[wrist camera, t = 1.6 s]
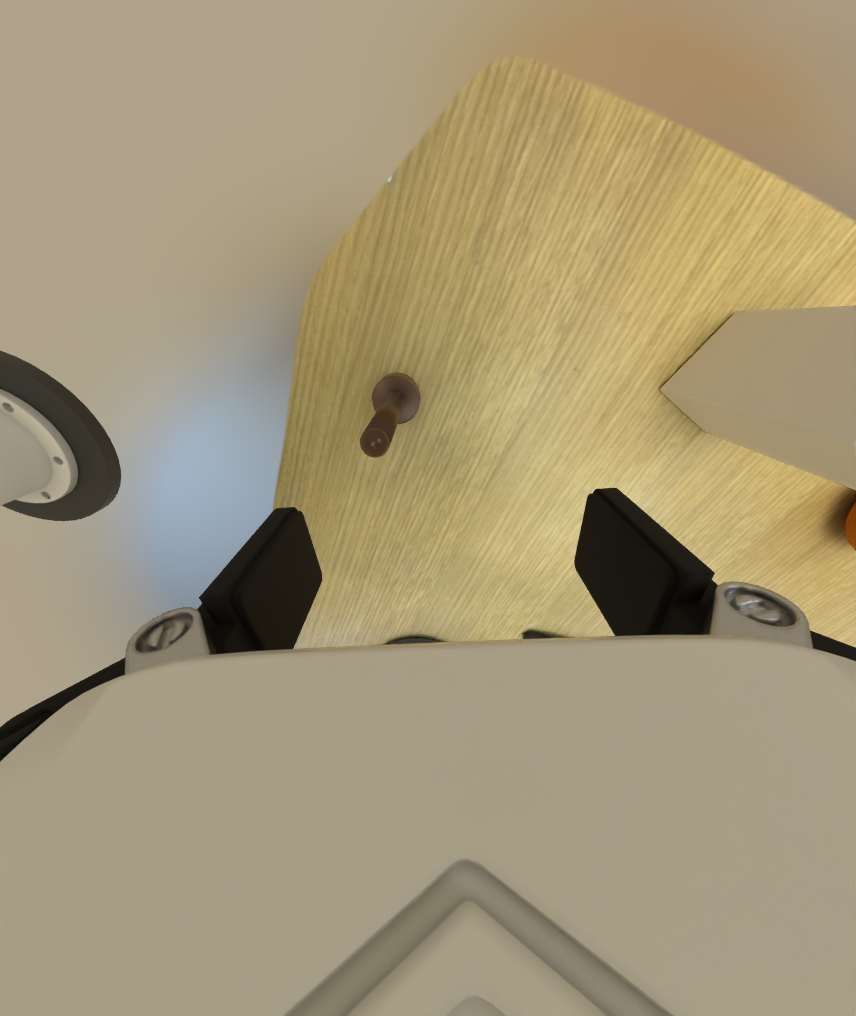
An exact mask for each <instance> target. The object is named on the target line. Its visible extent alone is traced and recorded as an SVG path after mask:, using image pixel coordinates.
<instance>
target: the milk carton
mask: <svg viewBox="0 0 856 1016" xmlns="http://www.w3.org/2000/svg"><path fill="white" fill-rule="evenodd" d="M660 391H661V392H662V393H663V394H664V395H665V396H666V397H667V398H668V399H670V400H671V401H672V402H673V403H674V404H675V405H676V406H677V407H678V408H679V409H680V410H681V411H683V412H684V413H685V414H686V415H687V416H688V417H689V418H690V419H691V420H692V421H693V422H694V423H696V424H697V425H698V426H699V427H700V428H701V429H702V430H703V431H705V432H706V433H709V434H711V435H714V436H716V437H719V438H721V439H724V440H727V441H729V442H732V443H734V444H737V445H740V446H742V447H745V448H747V449H750V450H752V451H755V452H758V453H760V454H763V455H765V456H768V457H771V458H773V459H776V460H778V461H781V462H784V463H786V464H789V465H791V466H794V467H796V468H799V469H802V470H804V471H807V472H809V473H812V474H815V475H817V476H820V477H822V478H825V479H828V480H830V481H833V482H835V483H838V484H840V485H843V486H846V487H848V488H851V489H853V490H856V306H840V307H820V308H800V309H780V310H759V311H739V312H735V313H734V314H733V315H732V316H731V317H730V318H729V319H728V320H727V321H726V322H725V323H724V324H723V325H722V326H721V327H720V328H719V329H718V330H717V331H716V332H715V334H714V335H713V336H712V337H711V338H710V339H709V340H708V341H707V342H706V343H705V344H704V345H703V346H702V347H701V348H700V349H699V350H698V351H697V352H696V353H695V354H694V355H693V356H692V357H691V358H690V359H689V360H688V361H687V362H686V363H685V364H684V365H683V366H682V367H681V368H680V369H679V370H678V371H677V372H676V373H675V374H674V375H673V376H672V377H671V378H670V379H669V380H668V381H667V382H666V383H665V384H664V385H663V386H662V387H661V388H660Z"/></svg>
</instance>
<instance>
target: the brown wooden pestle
mask: <svg viewBox="0 0 856 1016" xmlns="http://www.w3.org/2000/svg"><path fill="white" fill-rule="evenodd" d="M372 400H373V406H374V409H375V411H376V414H375V415H374V417H373V419H372V420H371V422H370V423H369V425H368V426H367V428H366V429H365V431H364V432H363V434H362V436H361V438H360V446H361V449H362V451H363V452H364V453H365V454H366V455H368V456H369V457H374V458H377V457H381V456H383V455H384V454H385V453H386V452H387V451H388V449H389V446H390V443H391V441H392V438H393V435H394V432H395V429H396V427H397V424H402V423H405V422H407V421H409V420H410V419H412V418H413V416H414V415H415V414H416V412H417V410H418V406H419V401H420V393H419V389H418V387H417V385H416V383H415V382H414V381H413V379H411V378H410V377H409V376H407V375H405V374H402V373H392V374H389V375H387V376H385V377H384V378H383V379H382V380H381V381H380V382H379V383H378V384H377V385H376V387H375V389H374V391H373V397H372Z"/></svg>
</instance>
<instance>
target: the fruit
mask: <svg viewBox="0 0 856 1016" xmlns="http://www.w3.org/2000/svg"><path fill="white" fill-rule="evenodd" d="M845 530H846V536H847V539H848V541H849V543H850V544H851V546H852V547H853V548H854V549H855V550H856V502H855V503H854V505H853V507H852V508H851V510H850V512H849V514H848V517H847V519H846V527H845Z"/></svg>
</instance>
